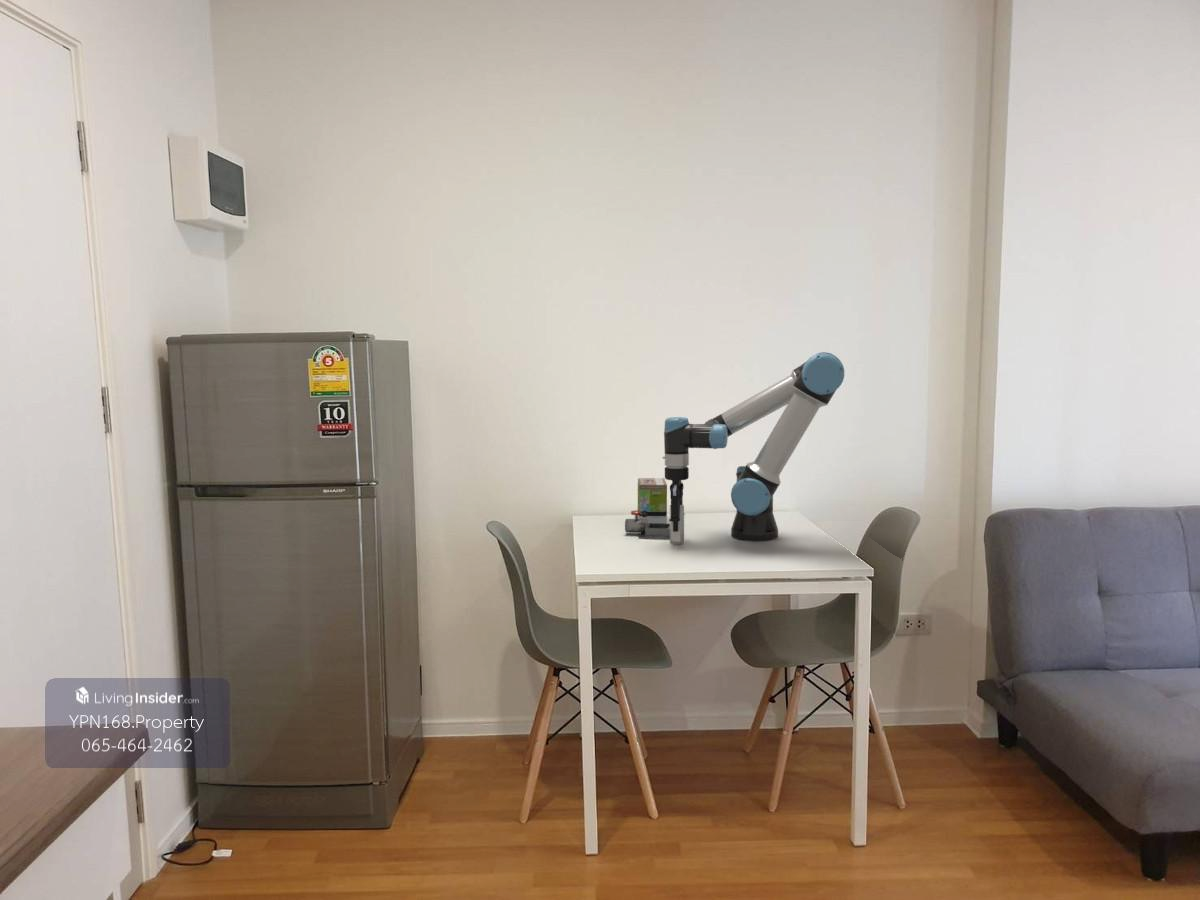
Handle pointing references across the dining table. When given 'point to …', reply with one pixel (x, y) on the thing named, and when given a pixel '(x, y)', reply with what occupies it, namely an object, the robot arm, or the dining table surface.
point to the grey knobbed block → (647, 528)
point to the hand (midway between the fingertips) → (677, 538)
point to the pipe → (680, 527)
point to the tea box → (652, 499)
